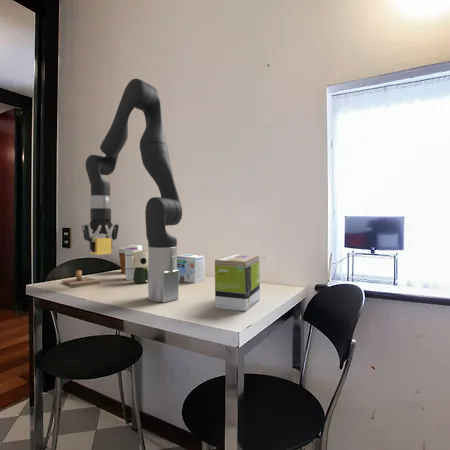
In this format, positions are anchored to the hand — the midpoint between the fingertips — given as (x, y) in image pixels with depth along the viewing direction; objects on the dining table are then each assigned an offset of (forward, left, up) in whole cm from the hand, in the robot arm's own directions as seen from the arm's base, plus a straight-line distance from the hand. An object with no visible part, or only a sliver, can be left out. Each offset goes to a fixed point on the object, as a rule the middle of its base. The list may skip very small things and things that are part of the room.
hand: (101, 251), depth 120 cm
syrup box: (+3, -16, -14) cm, 21 cm away
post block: (+10, +3, -13) cm, 17 cm away
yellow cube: (0, 0, -1) cm, 1 cm away
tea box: (-54, -18, -14) cm, 59 cm away
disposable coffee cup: (+18, -22, -14) cm, 32 cm away
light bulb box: (-17, -31, -14) cm, 38 cm away
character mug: (-6, -14, -14) cm, 21 cm away
